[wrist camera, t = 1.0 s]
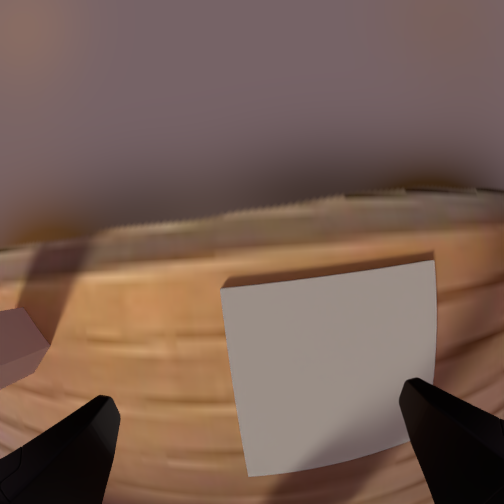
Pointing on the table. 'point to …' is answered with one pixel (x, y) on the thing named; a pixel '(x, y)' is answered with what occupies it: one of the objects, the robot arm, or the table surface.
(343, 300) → the white square plate
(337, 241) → the table surface
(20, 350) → the rose card box
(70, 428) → the robot arm
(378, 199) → the table surface
